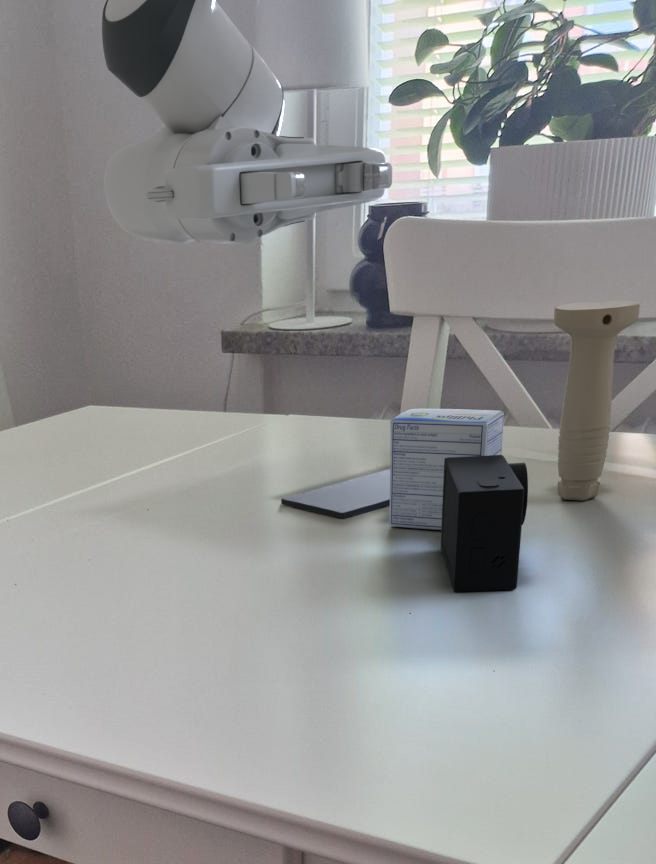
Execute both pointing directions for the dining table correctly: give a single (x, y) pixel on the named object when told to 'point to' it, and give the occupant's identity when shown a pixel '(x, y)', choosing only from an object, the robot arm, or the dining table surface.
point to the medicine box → (434, 458)
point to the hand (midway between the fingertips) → (343, 180)
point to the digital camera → (483, 521)
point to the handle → (588, 391)
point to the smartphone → (346, 496)
